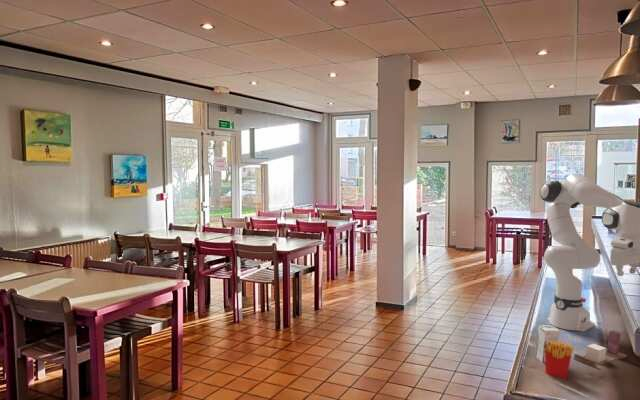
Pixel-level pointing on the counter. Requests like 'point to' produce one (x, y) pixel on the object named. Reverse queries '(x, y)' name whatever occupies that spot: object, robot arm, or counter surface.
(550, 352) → the french fries
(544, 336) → the syrup box
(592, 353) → the cream cube
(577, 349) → the counter surface
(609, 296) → the counter surface
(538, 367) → the counter surface
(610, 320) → the counter surface
